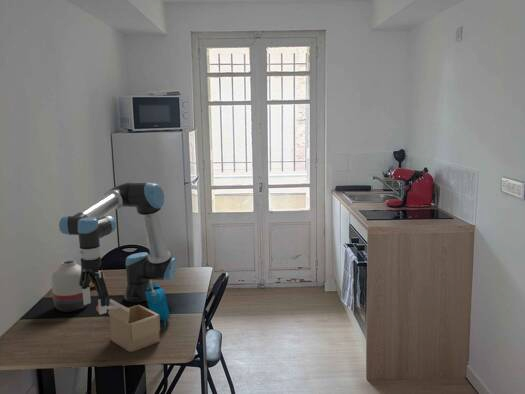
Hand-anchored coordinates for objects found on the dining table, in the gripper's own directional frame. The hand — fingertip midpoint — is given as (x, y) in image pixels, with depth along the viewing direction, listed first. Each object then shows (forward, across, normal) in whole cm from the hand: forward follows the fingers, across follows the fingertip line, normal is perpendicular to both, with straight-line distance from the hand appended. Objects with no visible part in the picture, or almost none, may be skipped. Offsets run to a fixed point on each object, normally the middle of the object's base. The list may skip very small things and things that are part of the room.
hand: (95, 308), depth 204 cm
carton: (+20, 0, +16) cm, 26 cm away
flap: (+4, 0, +10) cm, 11 cm away
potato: (+21, -77, +33) cm, 86 cm away
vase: (+20, -56, +13) cm, 61 cm away
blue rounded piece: (+20, -10, +34) cm, 41 cm away
